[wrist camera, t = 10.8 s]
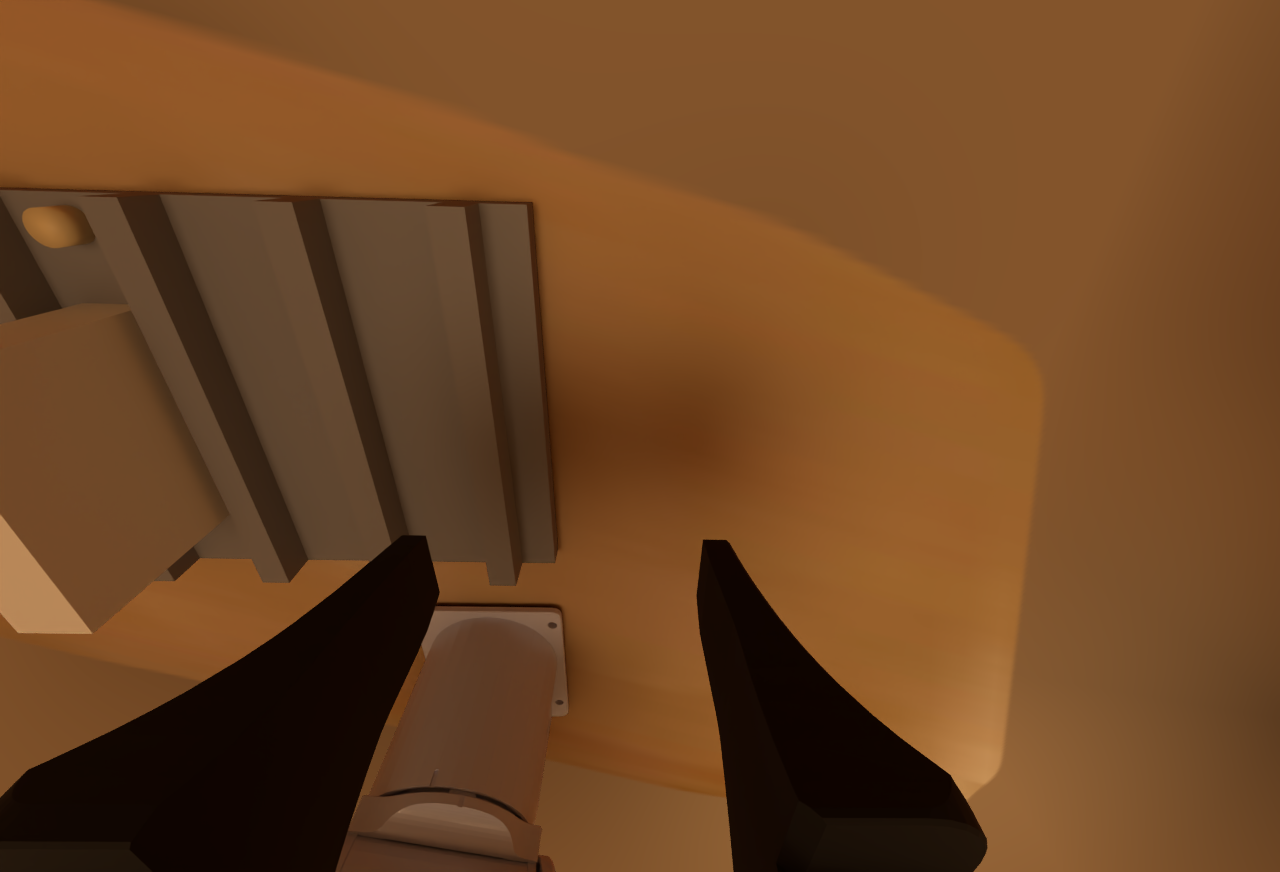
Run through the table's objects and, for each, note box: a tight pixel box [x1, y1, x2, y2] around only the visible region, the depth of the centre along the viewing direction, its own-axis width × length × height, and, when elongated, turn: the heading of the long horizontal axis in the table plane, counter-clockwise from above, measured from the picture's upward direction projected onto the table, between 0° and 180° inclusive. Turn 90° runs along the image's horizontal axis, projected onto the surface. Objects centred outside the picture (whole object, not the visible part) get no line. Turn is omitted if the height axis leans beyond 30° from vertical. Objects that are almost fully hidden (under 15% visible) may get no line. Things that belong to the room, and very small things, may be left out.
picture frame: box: [0, 303, 230, 634], centre depth 17 cm, size 9×2×7 cm, turn 179°
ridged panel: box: [0, 188, 558, 586], centre depth 20 cm, size 16×20×2 cm
